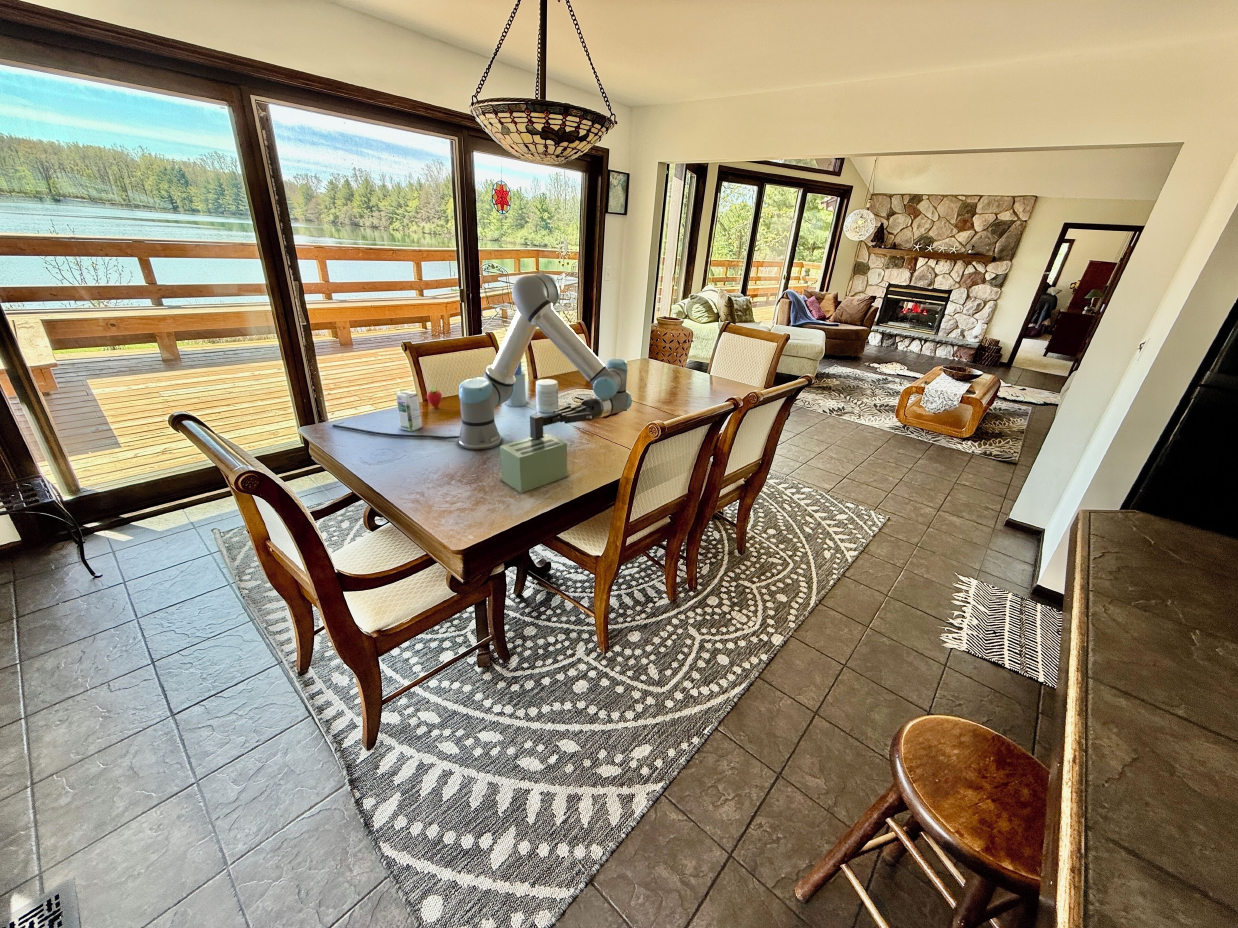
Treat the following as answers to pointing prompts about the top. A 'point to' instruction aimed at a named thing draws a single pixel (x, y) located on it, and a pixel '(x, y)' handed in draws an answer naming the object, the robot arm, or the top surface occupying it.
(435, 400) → the strawberry
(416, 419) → the syrup box
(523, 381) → the spray bottle
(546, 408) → the supplement tub
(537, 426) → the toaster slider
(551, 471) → the toaster
